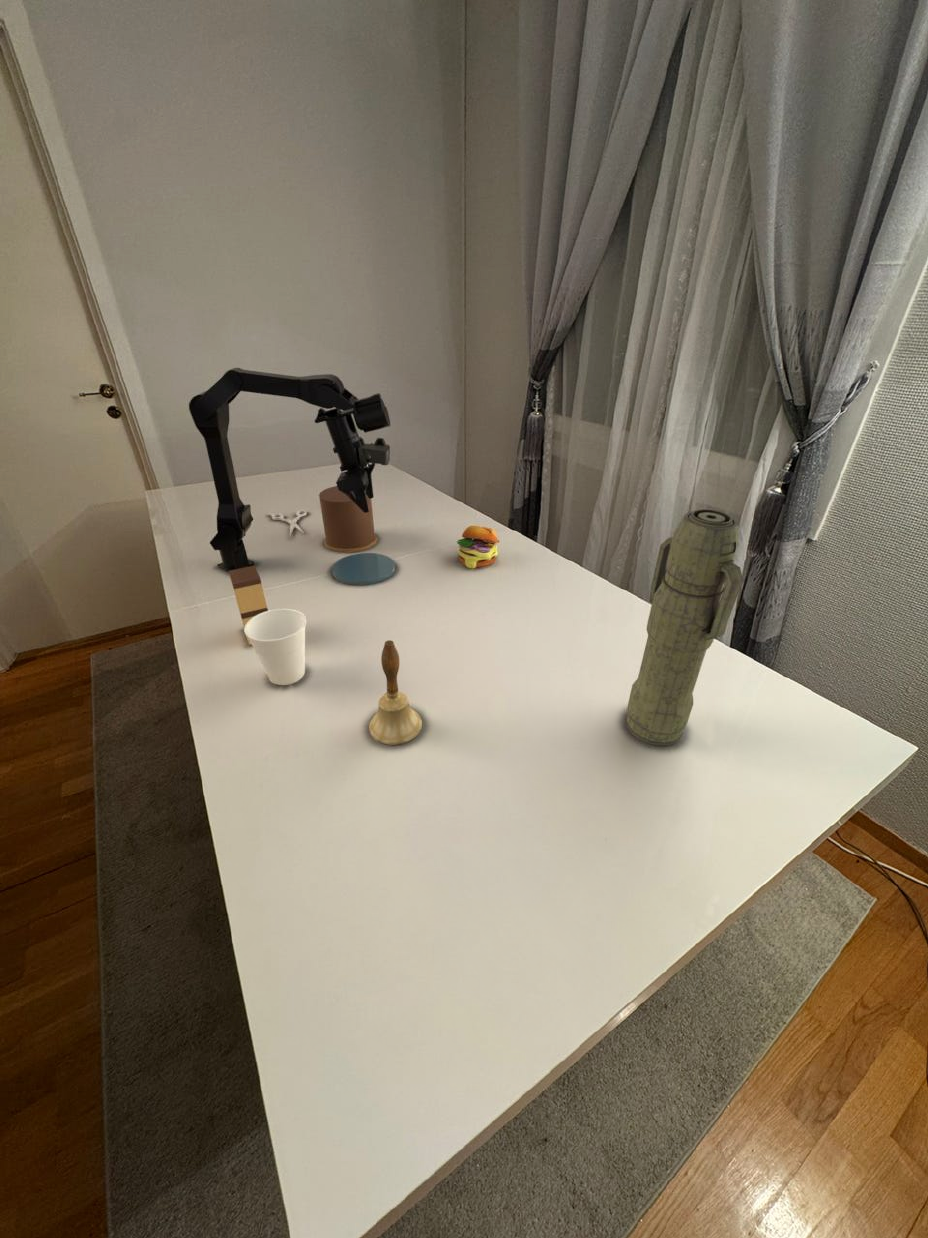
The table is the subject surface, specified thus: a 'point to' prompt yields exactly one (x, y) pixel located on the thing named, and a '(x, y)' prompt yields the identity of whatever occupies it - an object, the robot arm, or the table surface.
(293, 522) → the scissors
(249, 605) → the cake slice
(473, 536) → the cheeseburger
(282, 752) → the table surface
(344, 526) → the cake
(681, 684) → the thermos
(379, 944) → the table surface
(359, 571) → the plate
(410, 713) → the hand bell
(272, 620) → the cup
